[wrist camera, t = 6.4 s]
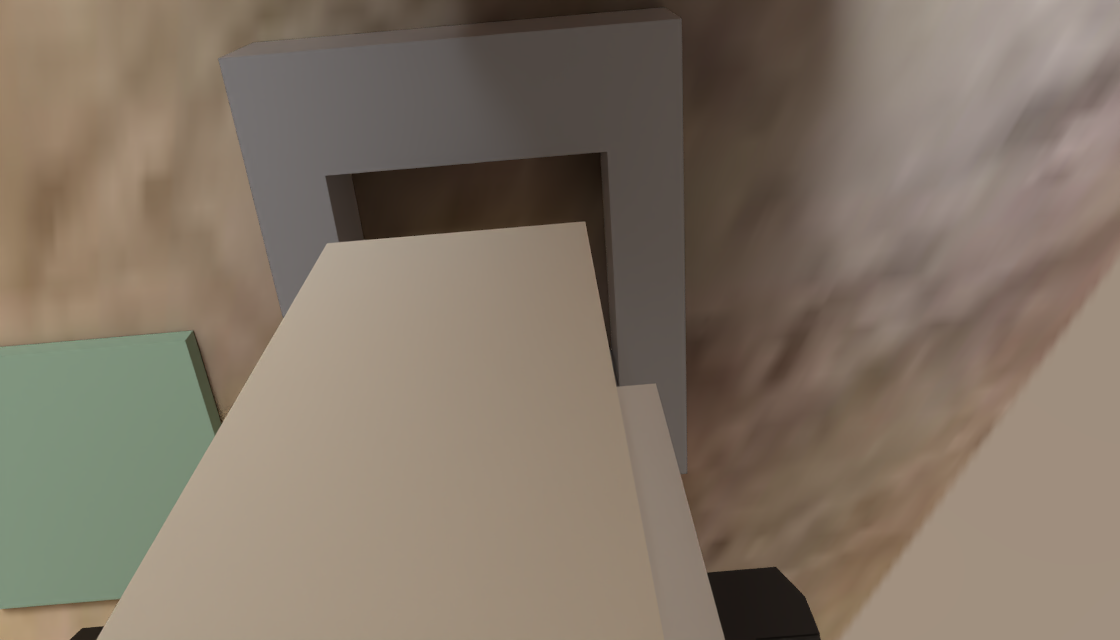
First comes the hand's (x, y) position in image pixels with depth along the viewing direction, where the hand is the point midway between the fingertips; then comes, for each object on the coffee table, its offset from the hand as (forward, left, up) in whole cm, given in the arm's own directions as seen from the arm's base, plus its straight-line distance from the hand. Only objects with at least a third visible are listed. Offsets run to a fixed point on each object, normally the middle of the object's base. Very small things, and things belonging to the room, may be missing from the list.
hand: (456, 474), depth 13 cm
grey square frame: (0, 0, -10) cm, 10 cm away
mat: (+6, -13, -10) cm, 18 cm away
